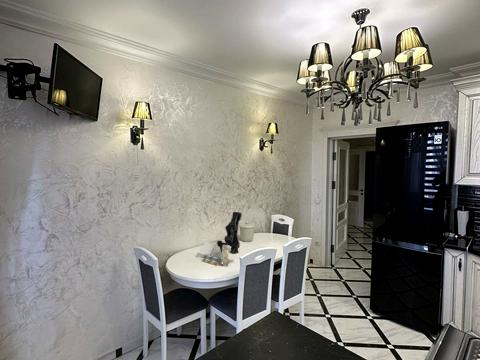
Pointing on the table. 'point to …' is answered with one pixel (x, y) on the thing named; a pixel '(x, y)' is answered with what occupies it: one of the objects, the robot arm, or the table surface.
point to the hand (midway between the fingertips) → (226, 253)
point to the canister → (246, 231)
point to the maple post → (225, 258)
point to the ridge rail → (212, 260)
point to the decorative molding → (205, 249)
